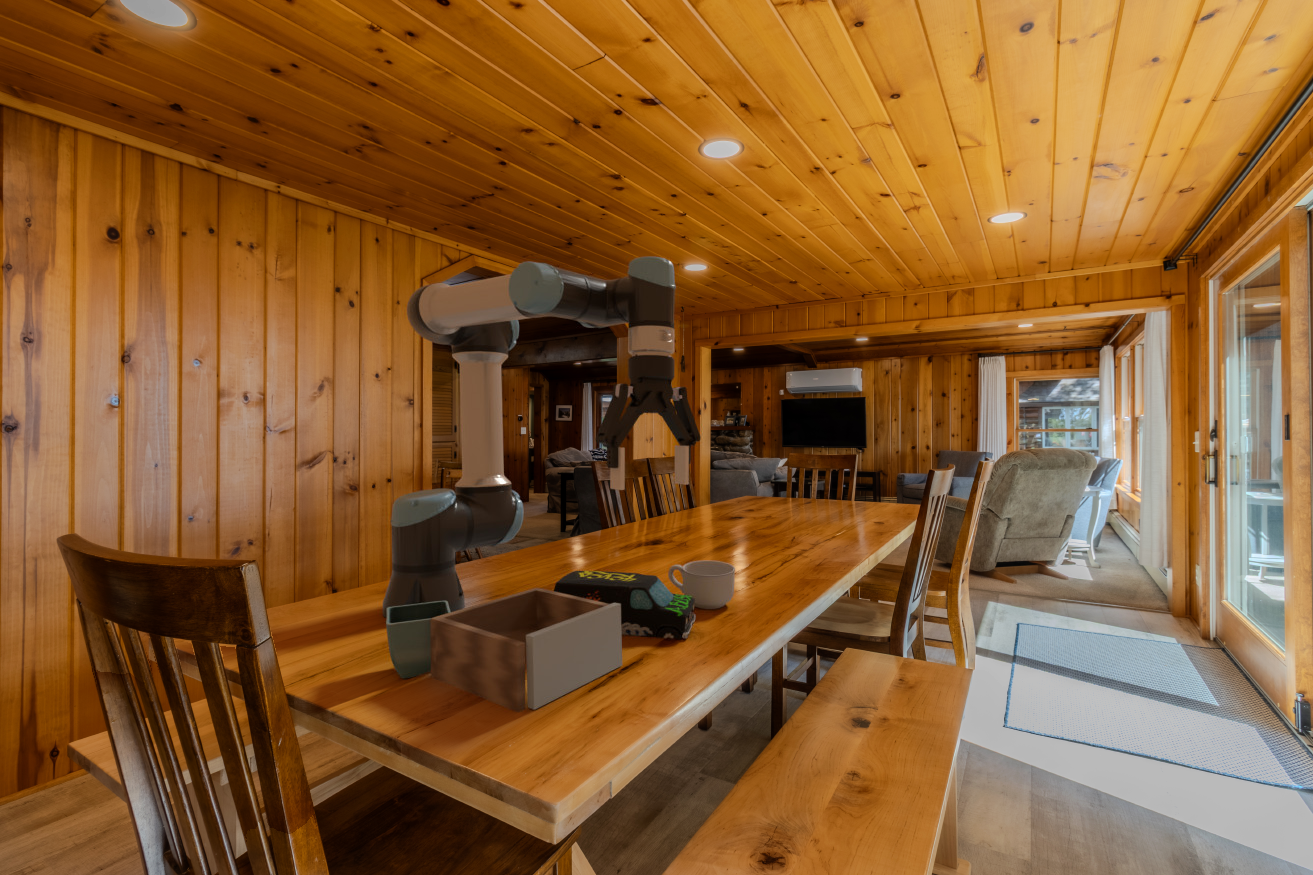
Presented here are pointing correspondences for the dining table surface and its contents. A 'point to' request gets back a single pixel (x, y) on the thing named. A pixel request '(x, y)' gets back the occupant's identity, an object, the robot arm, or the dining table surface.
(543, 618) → the crate
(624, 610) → the toy van
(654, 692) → the dining table surface
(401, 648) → the flower pot
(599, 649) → the panel
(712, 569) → the teacup
